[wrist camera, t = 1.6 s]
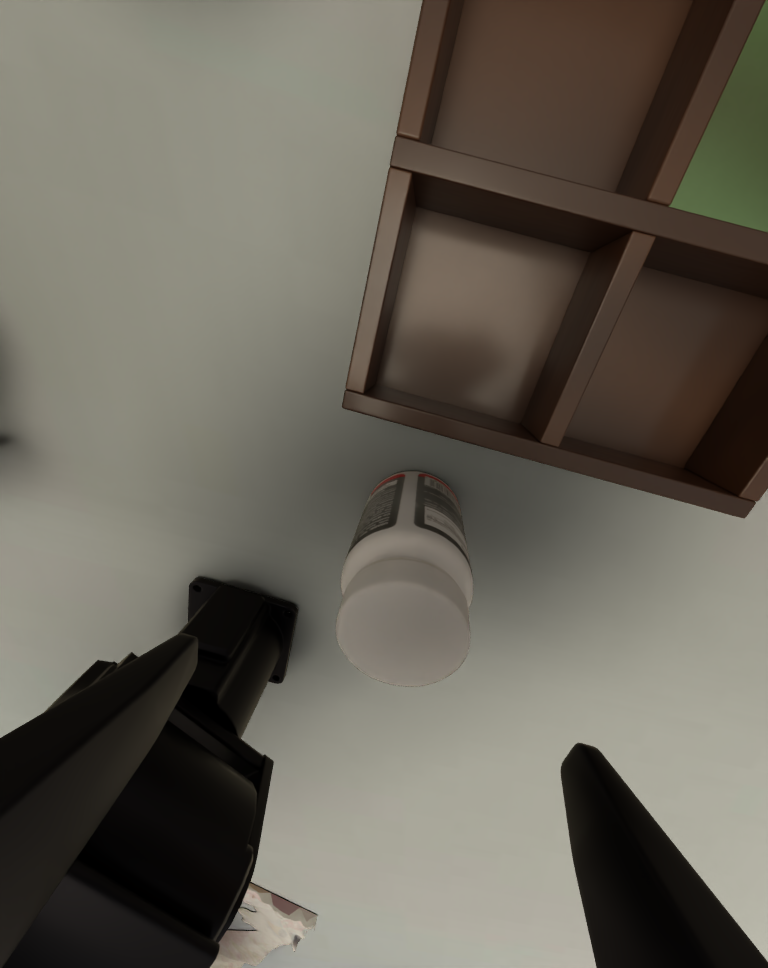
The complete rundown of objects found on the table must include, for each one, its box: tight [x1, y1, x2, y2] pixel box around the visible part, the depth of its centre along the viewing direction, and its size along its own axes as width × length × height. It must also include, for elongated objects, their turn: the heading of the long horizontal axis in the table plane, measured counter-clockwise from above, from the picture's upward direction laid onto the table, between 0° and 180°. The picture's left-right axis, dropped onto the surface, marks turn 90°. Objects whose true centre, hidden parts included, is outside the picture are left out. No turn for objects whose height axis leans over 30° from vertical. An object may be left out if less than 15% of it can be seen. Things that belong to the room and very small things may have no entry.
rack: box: [342, 0, 768, 518], centre depth 12 cm, size 15×15×4 cm
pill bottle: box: [336, 471, 473, 687], centre depth 14 cm, size 5×5×8 cm
